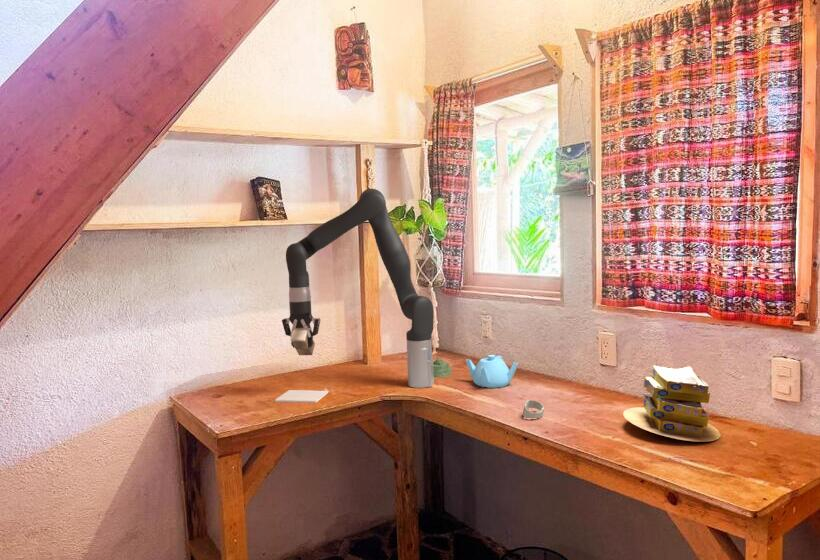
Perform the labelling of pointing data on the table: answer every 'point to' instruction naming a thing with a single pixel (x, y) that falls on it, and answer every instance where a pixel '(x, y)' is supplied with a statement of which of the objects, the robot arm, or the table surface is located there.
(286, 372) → the table surface
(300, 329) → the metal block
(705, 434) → the stacked boxes on plate
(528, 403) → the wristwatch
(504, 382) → the teapot
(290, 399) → the white mat
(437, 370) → the decorative artifact
